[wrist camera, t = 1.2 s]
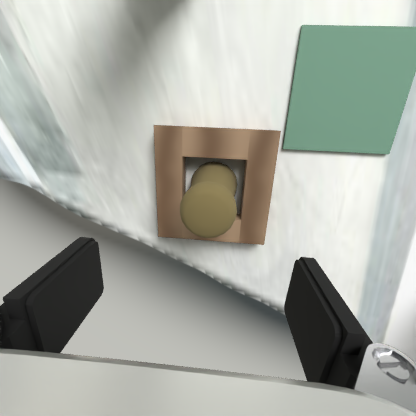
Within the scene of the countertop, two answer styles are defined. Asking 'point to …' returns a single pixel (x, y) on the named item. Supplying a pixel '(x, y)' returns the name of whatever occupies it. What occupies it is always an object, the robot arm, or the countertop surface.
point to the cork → (210, 201)
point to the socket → (215, 148)
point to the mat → (350, 87)
